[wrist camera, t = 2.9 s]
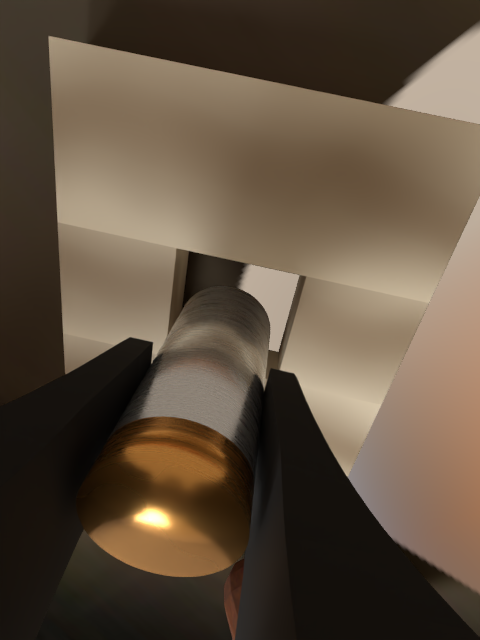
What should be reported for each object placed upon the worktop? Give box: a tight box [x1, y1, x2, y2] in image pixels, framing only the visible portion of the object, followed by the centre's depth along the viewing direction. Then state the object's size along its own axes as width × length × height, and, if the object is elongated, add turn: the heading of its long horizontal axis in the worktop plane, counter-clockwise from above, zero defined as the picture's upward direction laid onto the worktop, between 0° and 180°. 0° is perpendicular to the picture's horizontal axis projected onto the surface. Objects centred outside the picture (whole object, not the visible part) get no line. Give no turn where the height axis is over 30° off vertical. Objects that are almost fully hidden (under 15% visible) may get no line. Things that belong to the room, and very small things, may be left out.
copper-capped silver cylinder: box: [76, 286, 270, 577], centre depth 10 cm, size 3×3×7 cm
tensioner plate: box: [49, 36, 480, 477], centre depth 13 cm, size 14×12×4 cm
